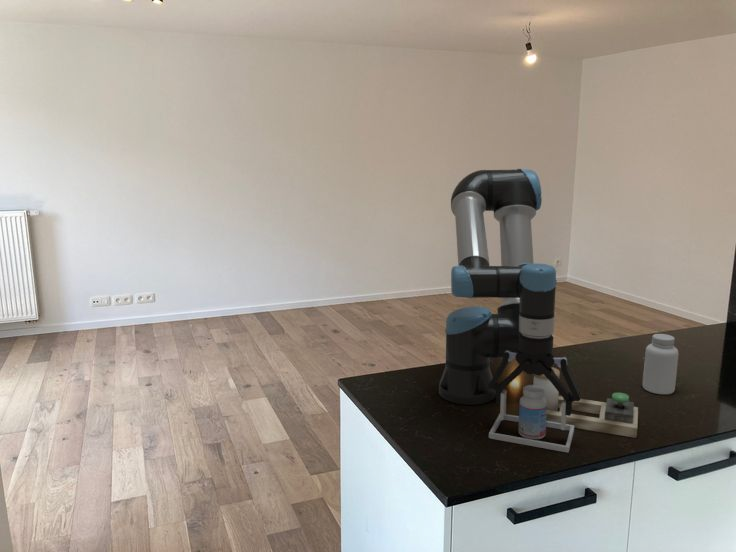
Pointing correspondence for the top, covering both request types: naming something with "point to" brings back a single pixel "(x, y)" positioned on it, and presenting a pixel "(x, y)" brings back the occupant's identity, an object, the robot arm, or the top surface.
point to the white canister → (548, 390)
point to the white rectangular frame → (529, 441)
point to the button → (620, 399)
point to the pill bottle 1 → (532, 413)
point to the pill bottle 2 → (660, 365)
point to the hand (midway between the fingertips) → (532, 422)
